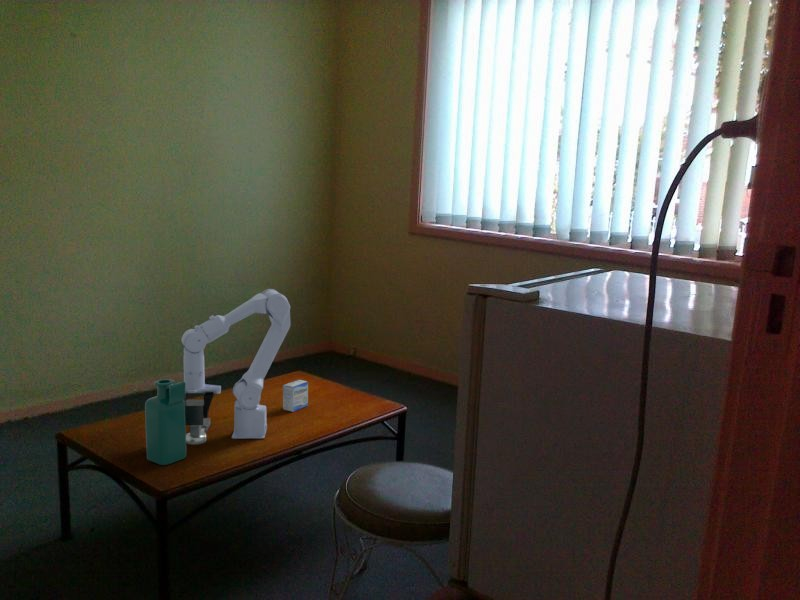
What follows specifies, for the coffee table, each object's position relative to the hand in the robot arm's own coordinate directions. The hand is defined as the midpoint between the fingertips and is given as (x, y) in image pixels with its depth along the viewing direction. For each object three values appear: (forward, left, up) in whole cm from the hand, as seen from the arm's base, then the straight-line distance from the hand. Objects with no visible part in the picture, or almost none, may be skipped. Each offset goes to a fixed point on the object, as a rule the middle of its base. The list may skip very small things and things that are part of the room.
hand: (195, 417), depth 205 cm
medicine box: (-27, -29, -7) cm, 40 cm away
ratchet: (0, -6, -7) cm, 9 cm away
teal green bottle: (+5, +13, -7) cm, 16 cm away
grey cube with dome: (0, 0, -1) cm, 1 cm away
